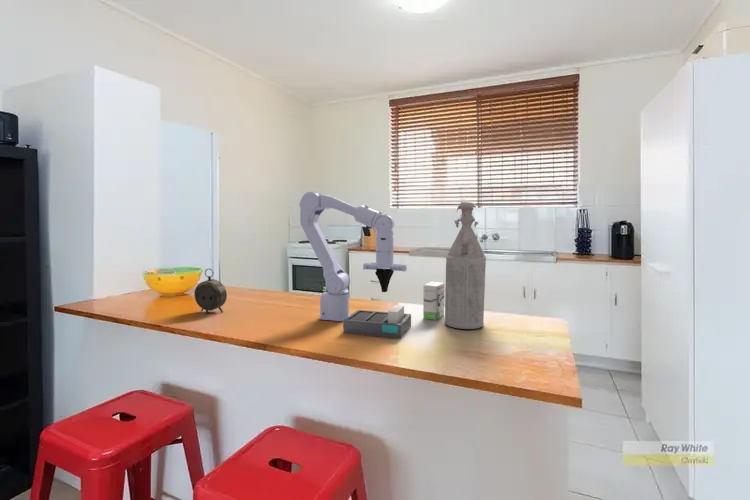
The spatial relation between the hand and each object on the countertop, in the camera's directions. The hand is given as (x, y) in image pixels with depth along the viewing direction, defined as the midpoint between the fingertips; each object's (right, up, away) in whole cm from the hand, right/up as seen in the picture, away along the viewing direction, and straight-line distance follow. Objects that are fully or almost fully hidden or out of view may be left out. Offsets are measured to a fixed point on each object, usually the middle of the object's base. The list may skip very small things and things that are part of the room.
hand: (384, 291), depth 131 cm
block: (+3, -10, -11) cm, 15 cm away
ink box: (+17, -10, +6) cm, 21 cm away
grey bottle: (+26, -10, -3) cm, 28 cm away
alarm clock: (-63, -9, +12) cm, 65 cm away
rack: (-2, -11, -9) cm, 14 cm away
